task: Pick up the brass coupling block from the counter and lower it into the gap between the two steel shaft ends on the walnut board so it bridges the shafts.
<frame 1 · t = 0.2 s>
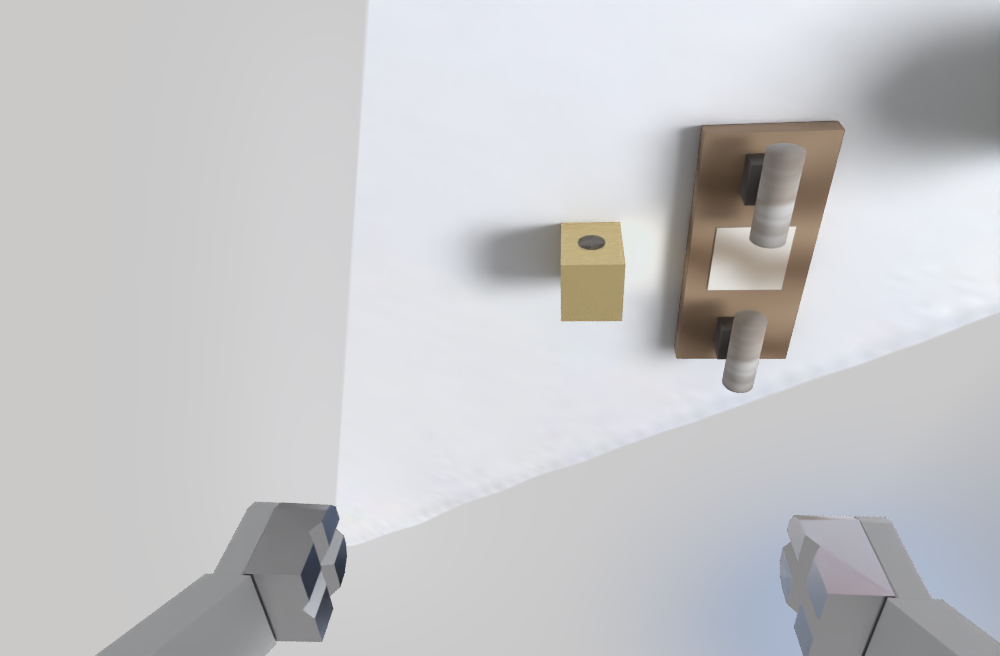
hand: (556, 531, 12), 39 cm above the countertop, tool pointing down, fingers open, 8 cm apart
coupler: (589, 250, 54), on the countertop
shaft mount: (745, 248, 52), on the countertop
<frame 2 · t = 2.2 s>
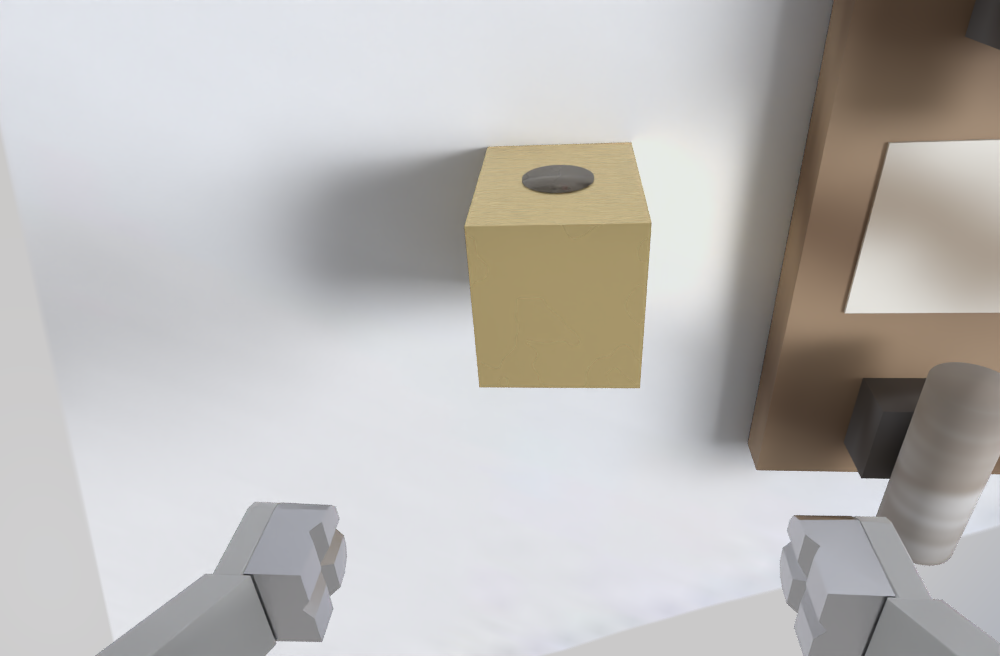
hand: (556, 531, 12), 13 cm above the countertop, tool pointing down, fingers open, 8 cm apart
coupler: (559, 217, 23), on the countertop
shaft mount: (939, 211, 21), on the countertop
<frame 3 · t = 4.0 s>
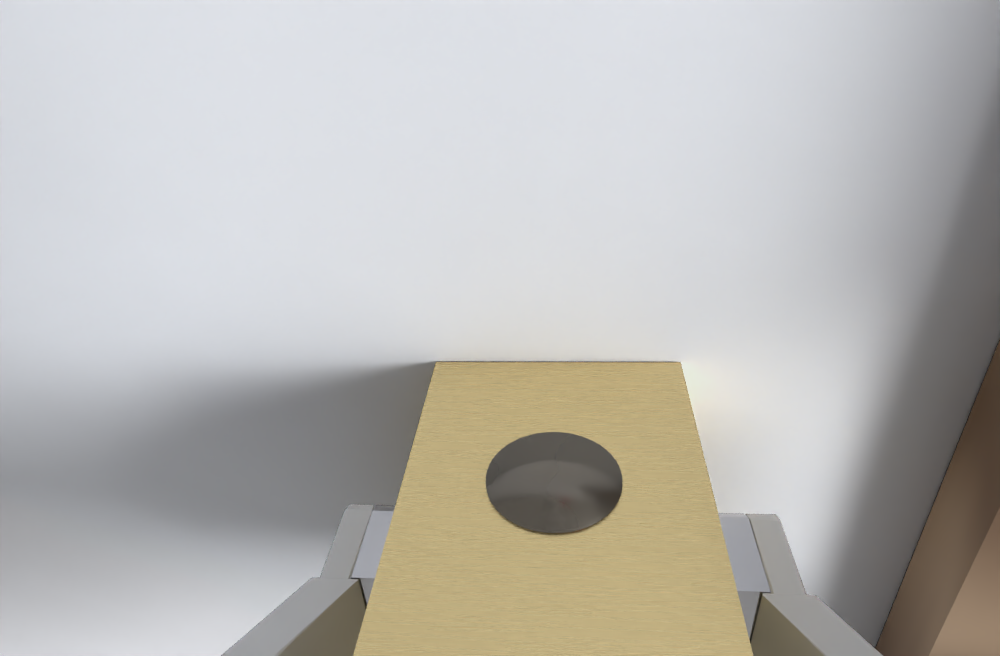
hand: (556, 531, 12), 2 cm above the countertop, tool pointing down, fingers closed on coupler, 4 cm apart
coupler: (557, 462, 14), on the countertop, touching gripper
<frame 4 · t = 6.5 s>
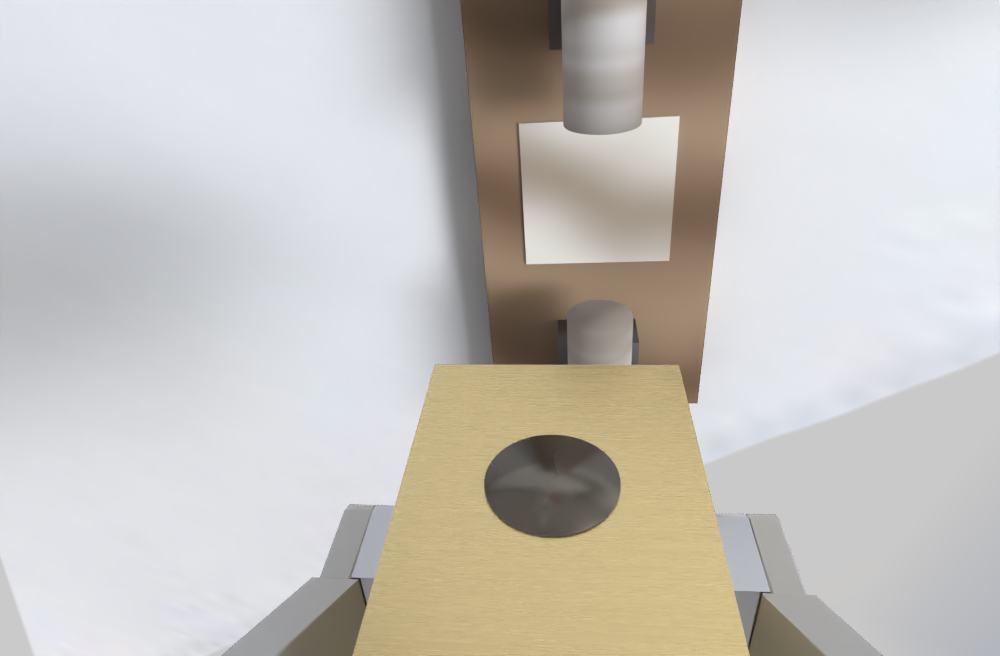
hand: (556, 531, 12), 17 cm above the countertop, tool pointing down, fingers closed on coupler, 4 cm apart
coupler: (556, 464, 14), point 16 cm above the countertop, touching gripper
shaft mount: (595, 180, 26), on the countertop
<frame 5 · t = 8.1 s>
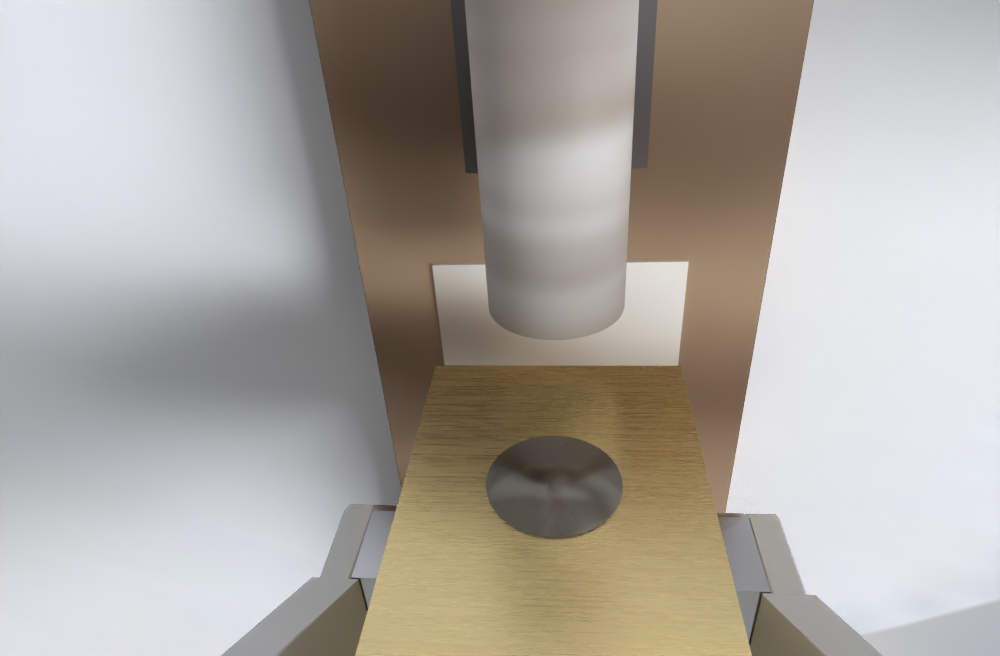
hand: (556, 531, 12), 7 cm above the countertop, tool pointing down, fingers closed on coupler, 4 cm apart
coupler: (557, 465, 14), point 5 cm above the countertop, touching gripper
shaft mount: (559, 331, 18), on the countertop
when the fingers open (5 cm above the countertop, at t = 9.1 s): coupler drops 1 cm, resting on shaft mount.
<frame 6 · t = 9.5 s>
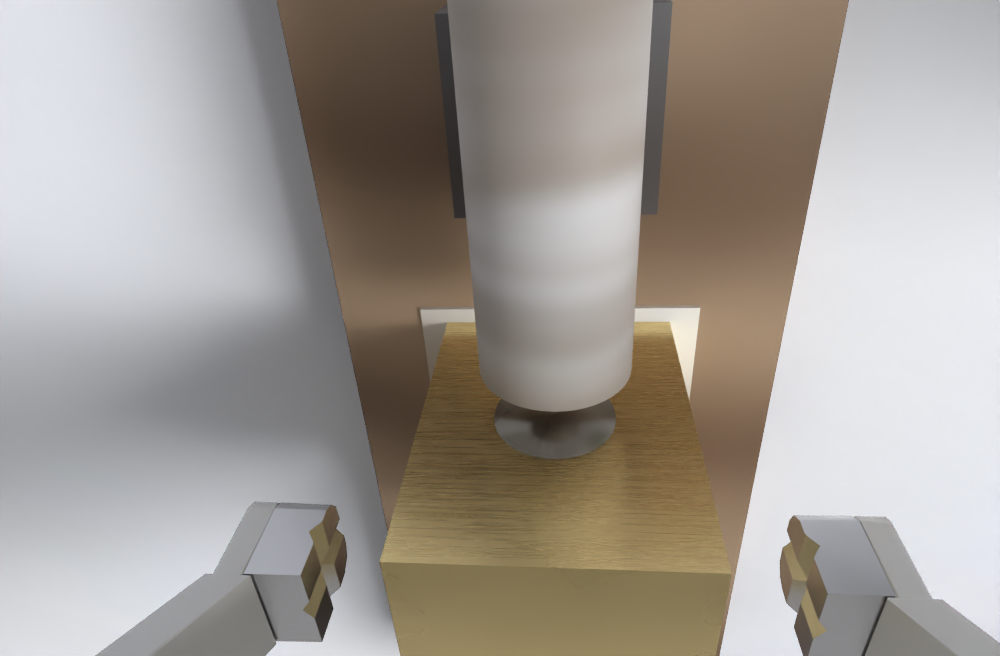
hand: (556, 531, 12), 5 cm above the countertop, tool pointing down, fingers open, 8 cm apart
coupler: (557, 417, 15), point 2 cm above the countertop, touching shaft mount
shaft mount: (559, 374, 16), on the countertop
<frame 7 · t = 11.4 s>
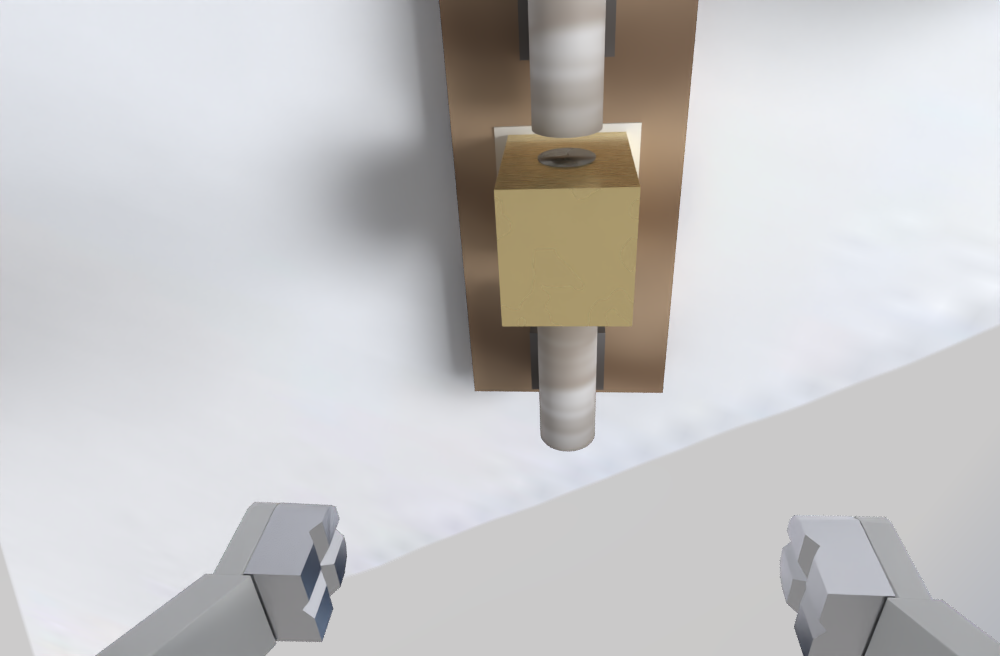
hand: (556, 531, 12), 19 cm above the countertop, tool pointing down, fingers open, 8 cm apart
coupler: (566, 195, 27), point 2 cm above the countertop, touching shaft mount
shaft mount: (567, 181, 29), on the countertop
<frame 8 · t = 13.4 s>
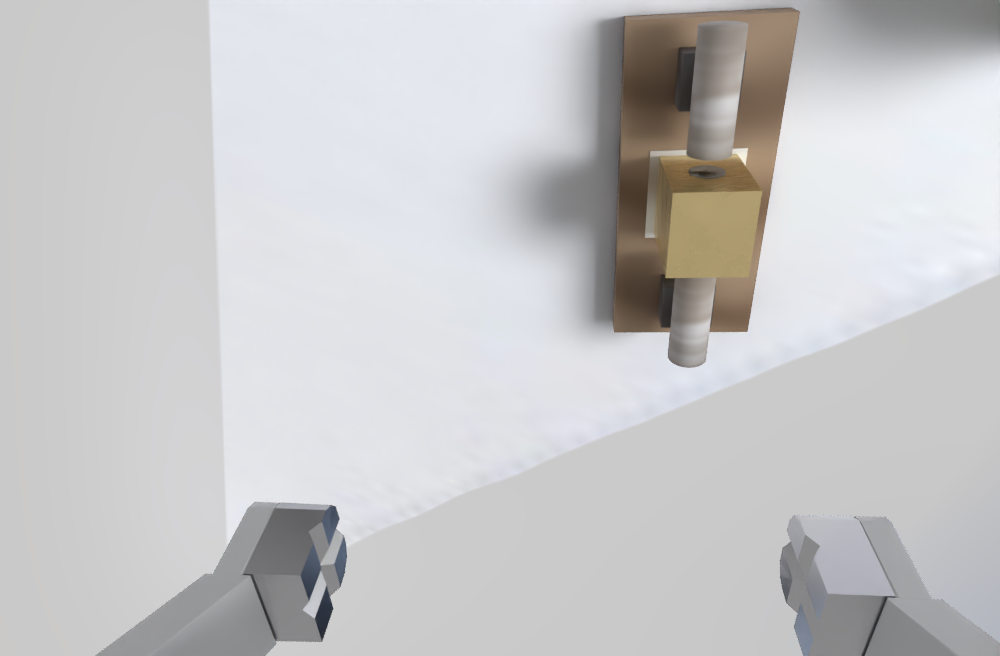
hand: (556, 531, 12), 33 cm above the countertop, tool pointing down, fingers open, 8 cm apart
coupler: (693, 195, 41), point 2 cm above the countertop, touching shaft mount
shaft mount: (690, 185, 42), on the countertop
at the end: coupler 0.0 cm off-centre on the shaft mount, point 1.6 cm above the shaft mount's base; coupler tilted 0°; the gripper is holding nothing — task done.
